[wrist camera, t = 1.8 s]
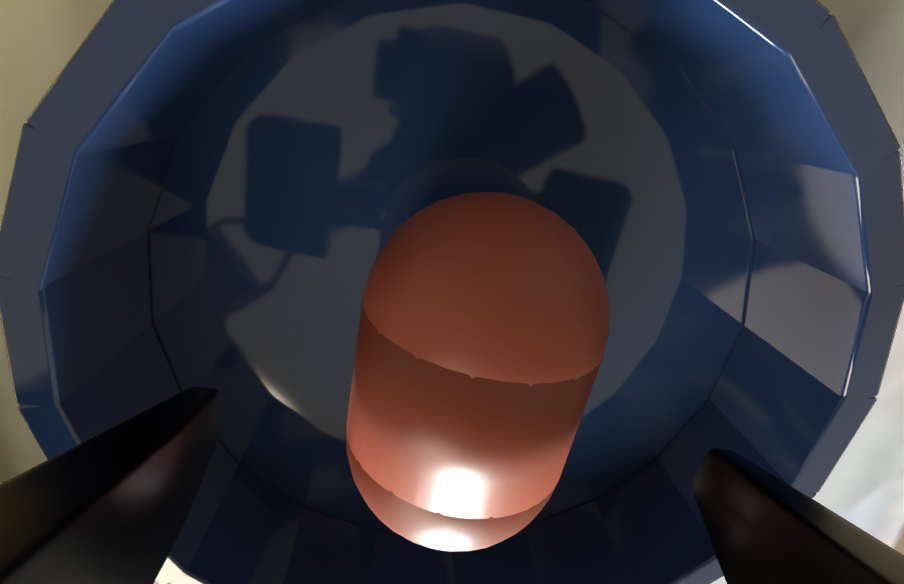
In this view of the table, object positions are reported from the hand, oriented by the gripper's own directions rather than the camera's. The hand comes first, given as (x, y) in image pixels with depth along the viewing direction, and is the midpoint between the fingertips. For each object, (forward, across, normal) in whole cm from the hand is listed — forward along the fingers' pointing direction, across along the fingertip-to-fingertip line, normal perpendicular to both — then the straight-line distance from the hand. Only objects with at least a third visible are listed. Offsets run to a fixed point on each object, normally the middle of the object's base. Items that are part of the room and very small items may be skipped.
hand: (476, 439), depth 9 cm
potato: (+5, 0, 0) cm, 5 cm away
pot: (+5, 0, 0) cm, 5 cm away
